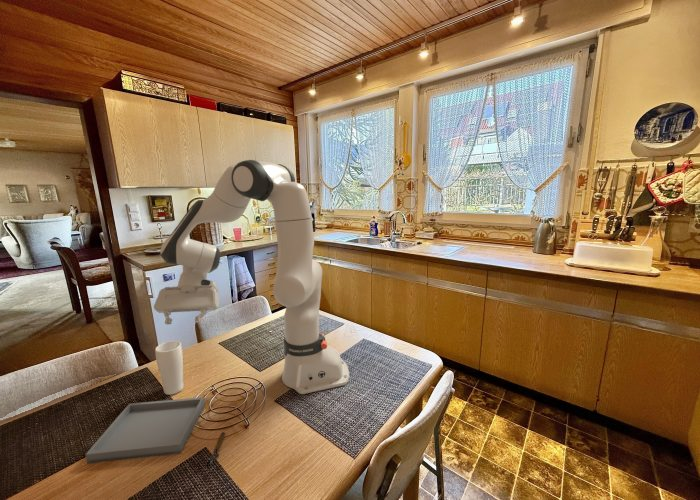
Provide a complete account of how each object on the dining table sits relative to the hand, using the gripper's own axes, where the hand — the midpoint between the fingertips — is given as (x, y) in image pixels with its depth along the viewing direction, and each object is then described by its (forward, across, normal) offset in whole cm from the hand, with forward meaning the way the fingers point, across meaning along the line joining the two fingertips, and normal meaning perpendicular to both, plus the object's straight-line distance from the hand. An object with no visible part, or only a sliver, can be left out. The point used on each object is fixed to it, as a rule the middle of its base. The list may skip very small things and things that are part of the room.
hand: (182, 323), depth 96 cm
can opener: (+37, +20, -12) cm, 44 cm away
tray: (+31, +2, -6) cm, 32 cm away
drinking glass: (+20, 0, +5) cm, 21 cm away
